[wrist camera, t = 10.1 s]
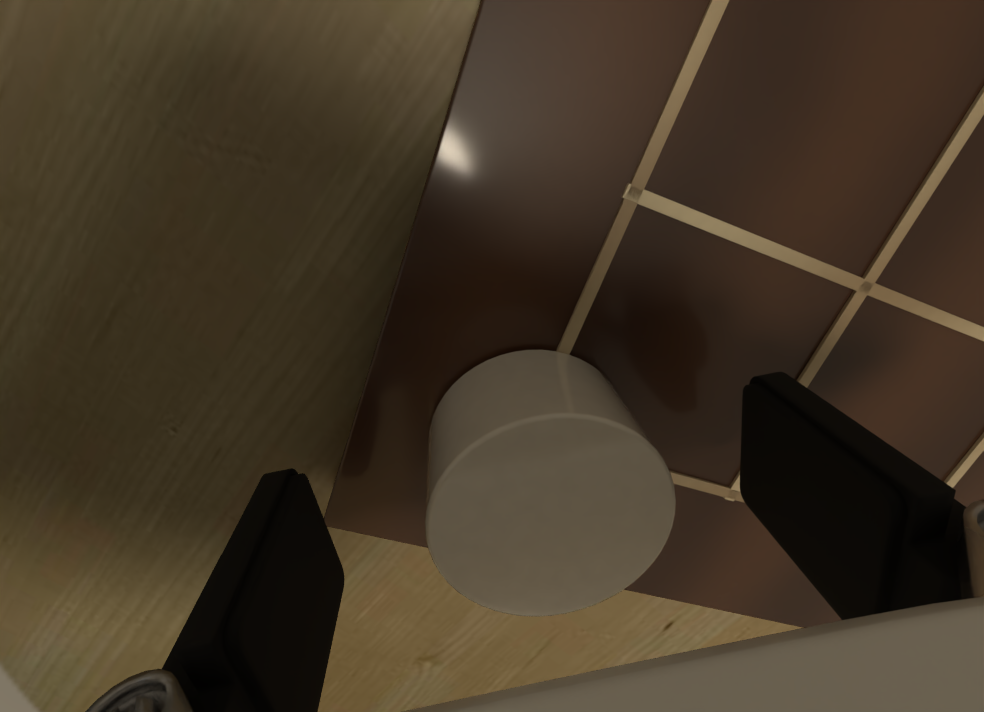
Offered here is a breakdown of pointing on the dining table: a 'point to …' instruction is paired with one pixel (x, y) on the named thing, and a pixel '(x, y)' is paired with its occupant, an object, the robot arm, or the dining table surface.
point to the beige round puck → (542, 487)
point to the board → (699, 250)
